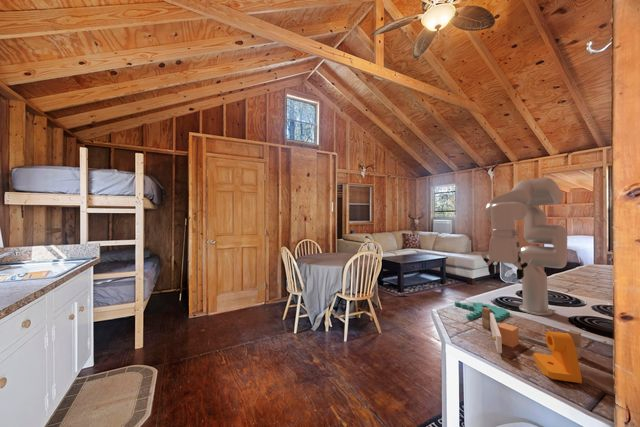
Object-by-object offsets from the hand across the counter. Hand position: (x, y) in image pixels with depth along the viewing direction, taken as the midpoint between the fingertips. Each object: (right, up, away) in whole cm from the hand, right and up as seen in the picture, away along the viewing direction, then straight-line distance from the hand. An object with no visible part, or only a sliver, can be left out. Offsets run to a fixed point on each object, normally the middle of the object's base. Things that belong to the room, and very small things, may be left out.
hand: (505, 276), depth 103 cm
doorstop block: (-4, -23, -7) cm, 24 cm away
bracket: (-3, -23, -26) cm, 34 cm away
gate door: (-9, -21, -6) cm, 24 cm away
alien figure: (+5, -24, +22) cm, 33 cm away
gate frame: (+4, -23, -6) cm, 24 cm away
